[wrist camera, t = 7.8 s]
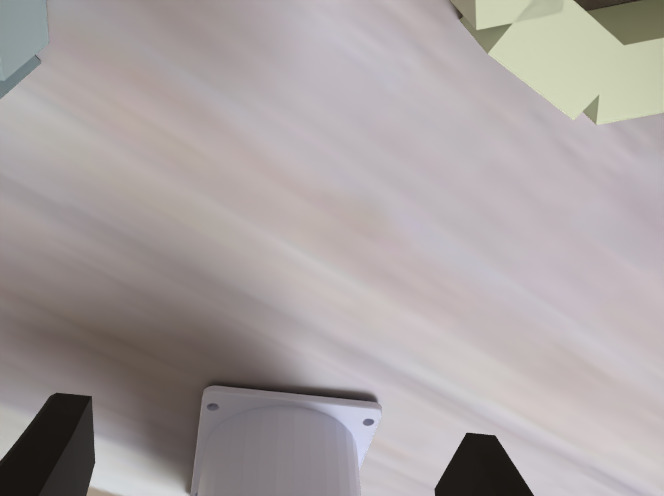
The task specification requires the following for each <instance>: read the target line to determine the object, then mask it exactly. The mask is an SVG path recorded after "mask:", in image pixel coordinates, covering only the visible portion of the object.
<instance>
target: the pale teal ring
mask: <svg viewBox="0 0 664 496" xmlns="http://www.w3.org/2000/svg"><path fill="white" fill-rule="evenodd" d="M47 44H49V35H48V22H47V9H46V0H0V99H1V98H2V97H3V96H4V95H5V94H7V93H8V92H9V91H10V90H11V89H12V88H13V87H14V86H16V85H17V84H18V83H19V82H20V81H21V80H22V79H23V78H25V77H26V76H27V75H28V74H29V73H30V72H31V71H32V70H34V69H35V68H36V67H37V66H38V65H39V64H40V63H41V62H40V61H39V59H38V58H37V57H36V56H35V54H37V53H38V52H39V51H40V50H41V49H43V48H44V47H45V46H46V45H47Z"/></svg>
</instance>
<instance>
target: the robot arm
mask: <svg viewBox="0 0 664 496" xmlns="http://www.w3.org/2000/svg"><path fill="white" fill-rule="evenodd" d="M213 403H215V404H213ZM381 416H382V409H381V406H380V405H379V404H378V403H376V402H370V401H360V400H350V399H341V398H331V397H322V396H312V395H302V394H293V393H283V392H273V391H264V390H254V389H244V388H235V387H225V386H209V387H207V388H205V389H204V391H203V396H202V403H201V411H200V419H199V428H198V436H197V444H196V452H195V460H194V468H193V477H192V485H191V493H190V496H361V486H360V475H359V469H360V467H361V464H362V462H363V460H364V457H365V455H366V452H367V450H368V448H369V445H370V443H371V440H372V438H373V436H374V433H375V431H376V428H377V426H378V423H379V421H380V419H381ZM94 464H95V451H94V432H93V412H92V396H84V395H74V394H64V393H55V394H53V395H51V396H50V397H49V398H48V400H47V401H46V403H45V404H44V405H43V407H42V408H41V410H40V411H39V412H38V414H37V415H36V416H35V418H34V419H33V420H32V422H31V423H30V424H29V426H28V427H27V428H26V430H25V431H24V432H23V434H22V435H21V436H20V437H19V439H18V440H17V441H16V443H15V444H14V445H13V446H12V448H11V449H10V450H9V451H8V452H7V454H6V455H5V456H4V457H3V459H2V460H1V461H0V496H86V494H87V490H88V487H89V483H90V479H91V476H92V472H93V468H94ZM435 496H534V495H533V493H532V492H531V490H530V489H529V487H528V486H527V484H526V483H525V481H524V479H523V478H522V476H521V475H520V473H519V472H518V470H517V468H516V467H515V465H514V464H513V462H512V461H511V459H510V458H509V456H508V454H507V453H506V451H505V450H504V448H503V447H502V445H501V444H500V442H499V441H498V439H497V438H496V436H495V435H485V434H475V433H466V435H465V437H464V438H463V440H462V442H461V444H460V445H459V447H458V449H457V451H456V452H455V454H454V456H453V458H452V459H451V461H450V463H449V465H448V466H447V468H446V470H445V472H444V473H443V475H442V477H441V479H440V481H439V482H438V484H437V486H436V488H435Z"/></svg>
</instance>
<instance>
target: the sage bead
mask: <svg viewBox="0 0 664 496" xmlns="http://www.w3.org/2000/svg"><path fill="white" fill-rule="evenodd" d="M450 1H451V2H452V3H453V4H454V6H455V7H456V8H457V9H458V10H459V11H460V12H461V13H462V15H463V16H462V18H461V19H460V22H461V23H462V24H463V25H464V26H465V28H466V29H467V30H468V31H469V32H470V33H471V35H472V36H473V37H474V38H475V39H476V41H477V42H478V43H479V44H480V45H481V47H482V48H483V49H484V50H485V51H486V52H487V54H489V55H490V56H491V57H492V58H494V59H495V60H496V61H498V62H499V63H500V64H501V65H503V66H504V67H505V68H507V69H508V70H509V71H510V72H512V73H513V74H514V75H516V76H517V77H518V78H519V79H521V80H522V81H523V82H525V83H526V84H527V85H528V86H530V87H531V88H532V89H534V90H535V91H536V92H537V93H539V94H540V95H541V96H543V97H544V98H545V99H546V100H548V101H549V102H550V103H552V104H553V105H554V106H555V107H557V108H558V109H559V110H561V111H562V112H563V113H564V114H566V115H567V116H568V117H570V118H571V119H572V120H573V121H574V120H575V119H576V118H577V117H578V116H579V114H580V113H581V112H582V111H583V112H584V113H585V114H586V115H587V116H588V117H589V118H590V119H591V120H592V121H593V122H594V123H595V124H596V125H599V124H605V123H610V122H616V121H621V120H626V119H632V118H637V117H643V116H648V115H654V114H659V113H664V0H640V1H635V2H630V3H625V4H620V5H615V6H610V7H605V8H600V9H595V10H590V11H585V10H584V9H583V8H582V7H581V6H579V5H578V4H577V3H576V2H575V1H574V0H450Z"/></svg>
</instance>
